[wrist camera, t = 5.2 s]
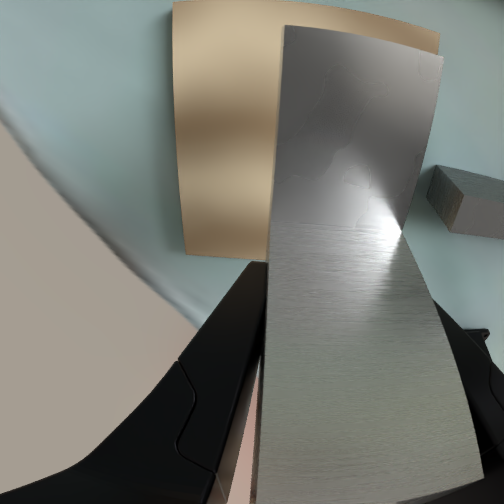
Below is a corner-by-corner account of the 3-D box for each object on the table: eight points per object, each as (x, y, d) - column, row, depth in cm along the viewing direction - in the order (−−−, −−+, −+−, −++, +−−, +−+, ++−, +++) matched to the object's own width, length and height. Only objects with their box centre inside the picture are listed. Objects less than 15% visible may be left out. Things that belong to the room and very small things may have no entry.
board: (378, 255, 20) (382, 267, 19) (189, 242, 20) (185, 254, 19) (429, 32, 11) (440, 33, 10) (180, 4, 11) (172, 2, 10)
